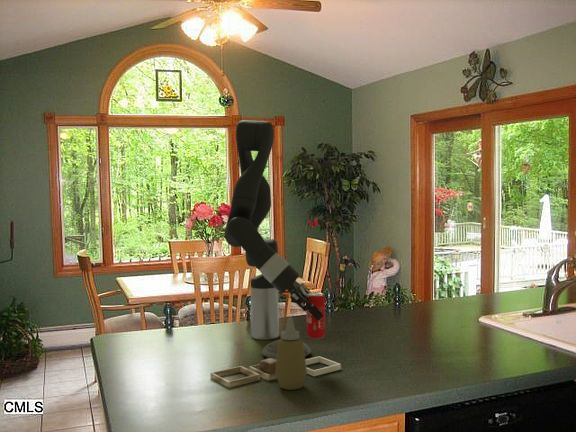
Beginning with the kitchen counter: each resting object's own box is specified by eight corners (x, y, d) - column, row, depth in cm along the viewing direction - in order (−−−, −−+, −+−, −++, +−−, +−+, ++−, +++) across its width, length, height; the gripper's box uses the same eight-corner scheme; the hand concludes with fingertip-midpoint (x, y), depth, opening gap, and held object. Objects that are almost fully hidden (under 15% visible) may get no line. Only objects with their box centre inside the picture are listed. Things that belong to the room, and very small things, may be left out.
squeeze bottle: (274, 382, 159) (273, 314, 158) (305, 380, 160) (303, 313, 158) (276, 392, 151) (275, 322, 150) (308, 391, 152) (307, 320, 150)
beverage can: (323, 339, 166) (323, 296, 165) (305, 338, 167) (304, 295, 166) (326, 334, 171) (325, 292, 170) (308, 334, 172) (307, 292, 171)
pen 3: (292, 367, 170) (292, 362, 170) (319, 361, 176) (319, 356, 176) (313, 376, 163) (313, 371, 162) (340, 369, 168) (340, 363, 168)
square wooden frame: (249, 371, 168) (248, 366, 168) (277, 364, 173) (277, 359, 173) (268, 380, 160) (268, 375, 160) (297, 373, 166) (297, 367, 165)
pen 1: (210, 378, 163) (210, 372, 163) (240, 371, 168) (240, 365, 168) (228, 387, 155) (228, 382, 155) (259, 379, 161) (259, 374, 161)
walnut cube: (260, 375, 165) (259, 360, 165) (270, 371, 168) (270, 357, 167) (270, 378, 162) (270, 363, 162) (280, 374, 165) (280, 360, 165)
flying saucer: (286, 346, 193) (286, 329, 193) (321, 355, 183) (321, 337, 182) (251, 356, 183) (251, 339, 183) (286, 367, 172) (285, 348, 172)
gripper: (284, 267, 162) (329, 312, 160) (292, 260, 176) (333, 301, 174) (265, 286, 163) (309, 331, 161) (274, 278, 177) (315, 319, 176)
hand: (322, 315), depth 168 cm, fingers closed on beverage can, 5 cm apart
